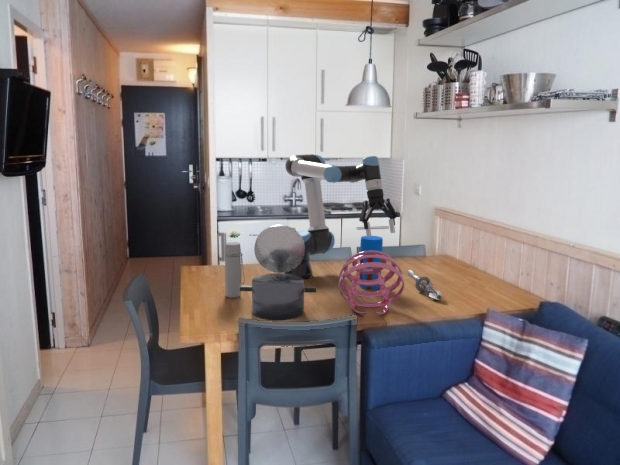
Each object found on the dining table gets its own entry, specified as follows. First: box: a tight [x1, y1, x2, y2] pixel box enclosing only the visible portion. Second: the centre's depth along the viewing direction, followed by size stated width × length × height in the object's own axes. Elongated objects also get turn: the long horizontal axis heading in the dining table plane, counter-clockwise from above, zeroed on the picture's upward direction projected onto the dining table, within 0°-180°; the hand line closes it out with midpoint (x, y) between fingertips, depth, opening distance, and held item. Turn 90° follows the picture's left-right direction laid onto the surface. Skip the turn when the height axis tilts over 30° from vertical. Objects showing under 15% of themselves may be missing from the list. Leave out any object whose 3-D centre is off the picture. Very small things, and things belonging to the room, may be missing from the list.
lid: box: [253, 224, 305, 273], centre depth 226 cm, size 22×22×4 cm
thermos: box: [358, 235, 384, 291], centre depth 256 cm, size 11×11×25 cm
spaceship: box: [407, 269, 443, 301], centre depth 251 cm, size 8×35×8 cm
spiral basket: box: [337, 250, 405, 316], centre depth 220 cm, size 28×28×27 cm
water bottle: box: [224, 241, 246, 299], centre depth 237 cm, size 9×8×25 cm
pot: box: [240, 272, 317, 322], centre depth 219 cm, size 22×32×14 cm
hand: (381, 234), depth 240 cm, fingers open, 13 cm apart
